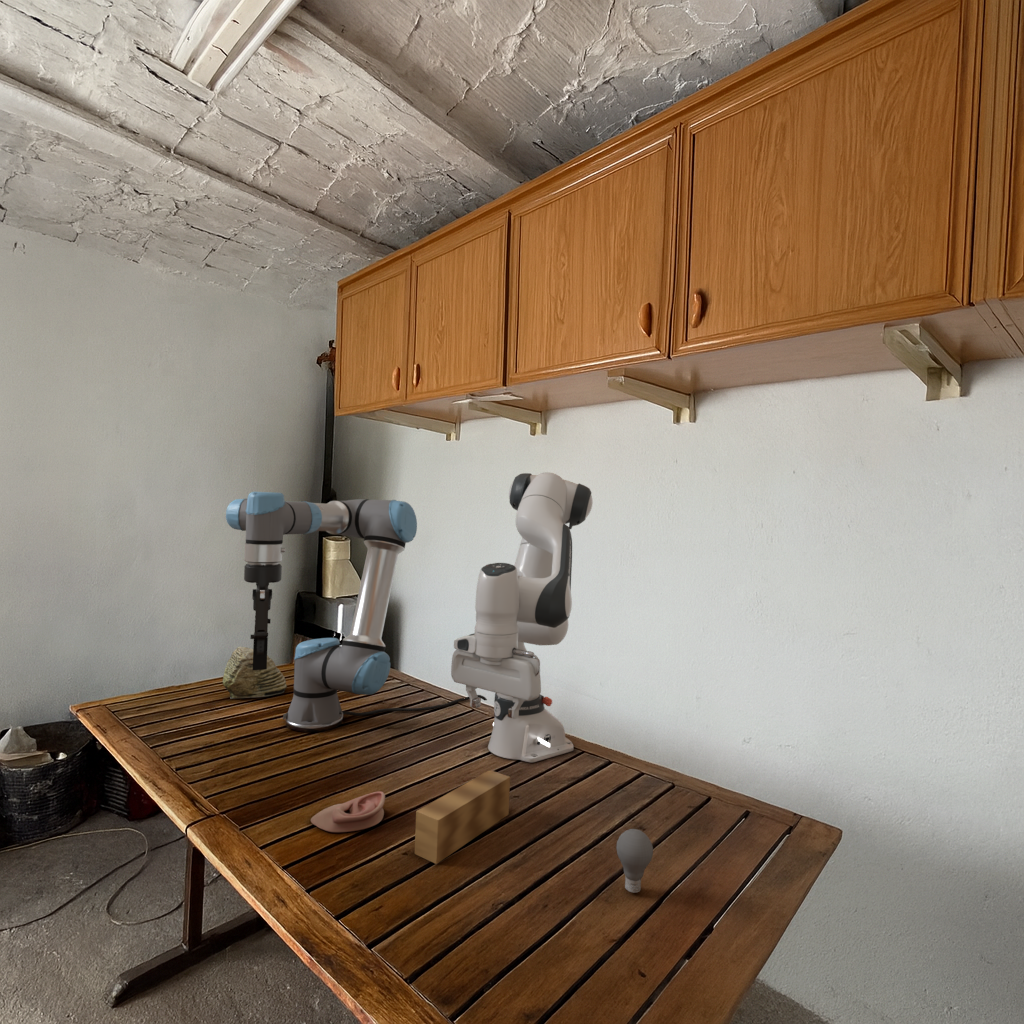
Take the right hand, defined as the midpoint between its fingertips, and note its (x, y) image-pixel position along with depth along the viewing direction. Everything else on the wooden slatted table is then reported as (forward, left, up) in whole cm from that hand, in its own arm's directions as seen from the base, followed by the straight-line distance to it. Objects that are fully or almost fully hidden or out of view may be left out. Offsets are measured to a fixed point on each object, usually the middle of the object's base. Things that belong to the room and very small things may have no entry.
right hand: (493, 712), depth 128 cm
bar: (+7, +4, -21) cm, 23 cm away
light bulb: (-11, +32, -21) cm, 40 cm away
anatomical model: (+26, -9, -21) cm, 35 cm away
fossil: (+36, -97, -21) cm, 105 cm away
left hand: (+41, -31, +6) cm, 52 cm away
